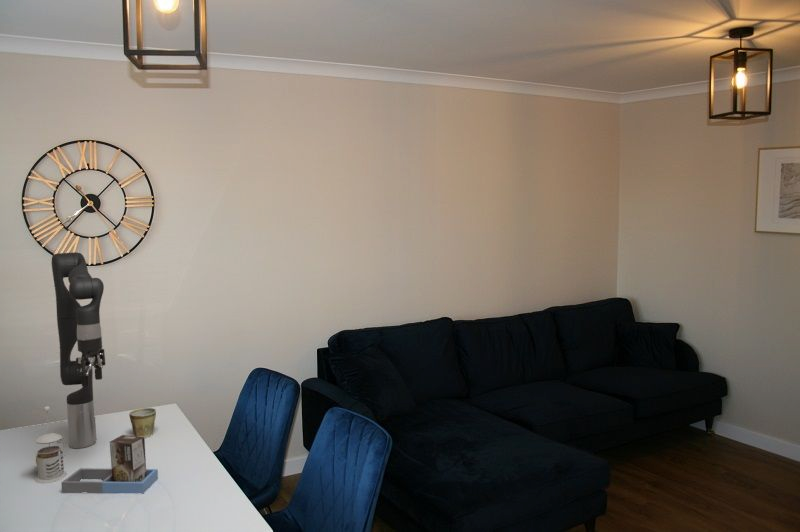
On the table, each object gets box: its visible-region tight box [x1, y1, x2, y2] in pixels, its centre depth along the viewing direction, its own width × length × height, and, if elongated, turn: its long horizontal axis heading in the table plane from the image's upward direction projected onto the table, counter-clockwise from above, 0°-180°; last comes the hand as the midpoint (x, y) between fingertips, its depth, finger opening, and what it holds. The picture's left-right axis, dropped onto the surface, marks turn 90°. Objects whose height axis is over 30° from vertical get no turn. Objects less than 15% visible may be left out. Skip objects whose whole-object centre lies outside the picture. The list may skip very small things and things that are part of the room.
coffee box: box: [109, 434, 147, 482], centre depth 209 cm, size 9×6×16 cm
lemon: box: [35, 452, 52, 467], centre depth 223 cm, size 6×6×8 cm
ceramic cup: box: [128, 407, 157, 439], centre depth 257 cm, size 13×10×10 cm
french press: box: [34, 405, 69, 484], centre depth 217 cm, size 10×12×25 cm
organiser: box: [60, 467, 159, 495], centre depth 210 cm, size 11×27×4 cm, turn 87°
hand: (92, 382), depth 217 cm, fingers open, 8 cm apart
